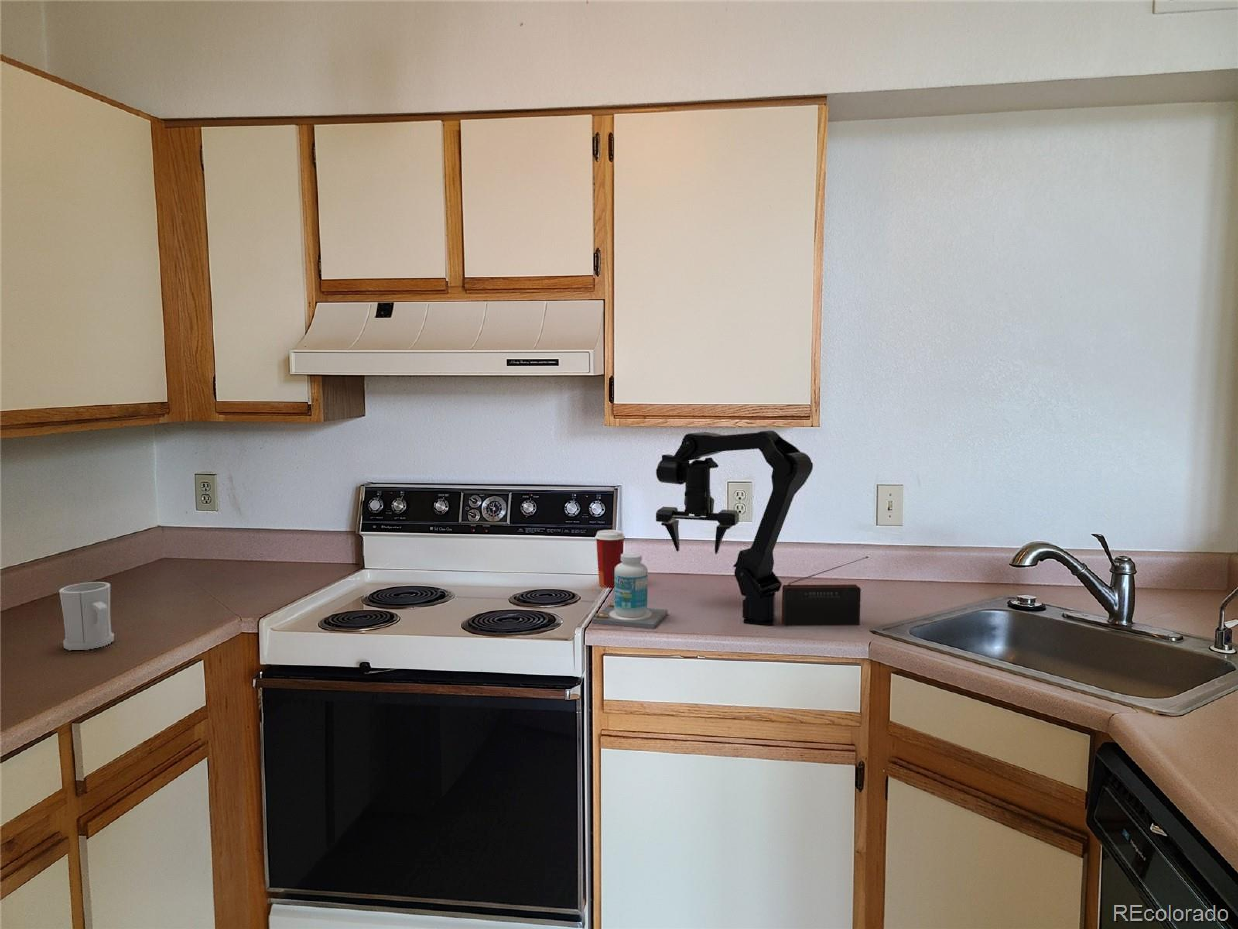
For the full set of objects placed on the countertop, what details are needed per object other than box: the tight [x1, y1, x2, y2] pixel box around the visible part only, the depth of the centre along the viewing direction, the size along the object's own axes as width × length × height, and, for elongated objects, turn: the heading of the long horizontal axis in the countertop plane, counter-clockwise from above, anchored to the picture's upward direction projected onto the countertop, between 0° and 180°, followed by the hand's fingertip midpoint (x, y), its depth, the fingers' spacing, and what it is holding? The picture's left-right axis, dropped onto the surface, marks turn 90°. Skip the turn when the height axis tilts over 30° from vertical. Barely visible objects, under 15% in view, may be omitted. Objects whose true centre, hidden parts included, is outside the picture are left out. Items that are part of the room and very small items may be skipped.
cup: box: [58, 581, 115, 651], centre depth 174 cm, size 10×9×12 cm
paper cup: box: [594, 529, 626, 589], centre depth 222 cm, size 8×8×14 cm
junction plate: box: [591, 602, 668, 630], centre depth 193 cm, size 14×12×2 cm
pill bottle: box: [613, 552, 649, 617], centre depth 192 cm, size 8×7×14 cm
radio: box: [781, 556, 869, 627], centre depth 187 cm, size 19×3×15 cm, turn 91°
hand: (697, 552), depth 201 cm, fingers open, 9 cm apart
